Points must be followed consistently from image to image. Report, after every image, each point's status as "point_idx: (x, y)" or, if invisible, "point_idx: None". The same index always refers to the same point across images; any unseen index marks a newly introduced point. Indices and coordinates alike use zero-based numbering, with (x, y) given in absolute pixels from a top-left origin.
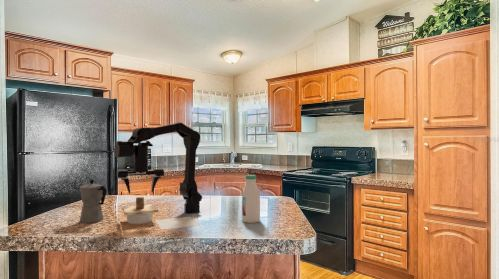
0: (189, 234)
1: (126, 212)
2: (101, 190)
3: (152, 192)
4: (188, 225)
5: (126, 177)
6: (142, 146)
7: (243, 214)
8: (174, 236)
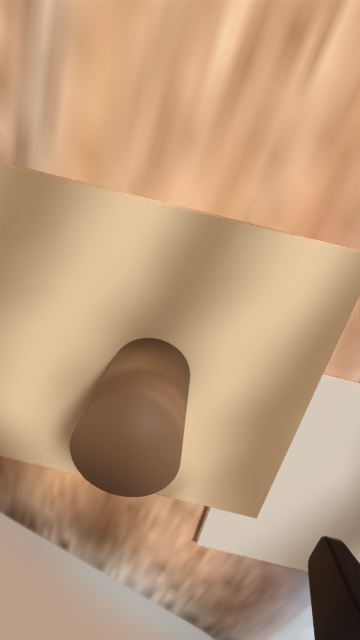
0: (270, 626)
1: (8, 449)
2: None
3: (320, 567)
4: None
5: None
6: None
7: None
8: (207, 611)
